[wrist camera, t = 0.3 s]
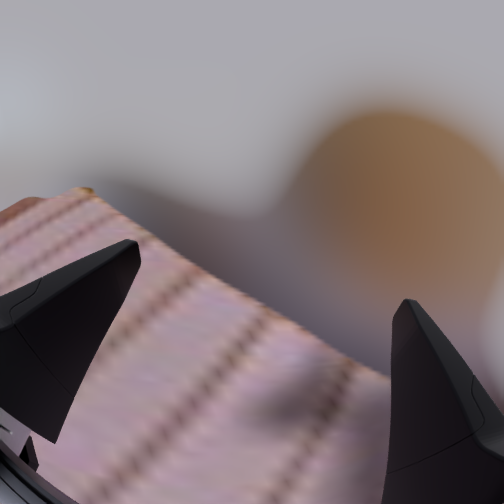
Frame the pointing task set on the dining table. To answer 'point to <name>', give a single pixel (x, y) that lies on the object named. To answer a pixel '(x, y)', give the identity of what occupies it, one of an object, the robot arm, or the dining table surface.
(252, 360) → the dining table surface
